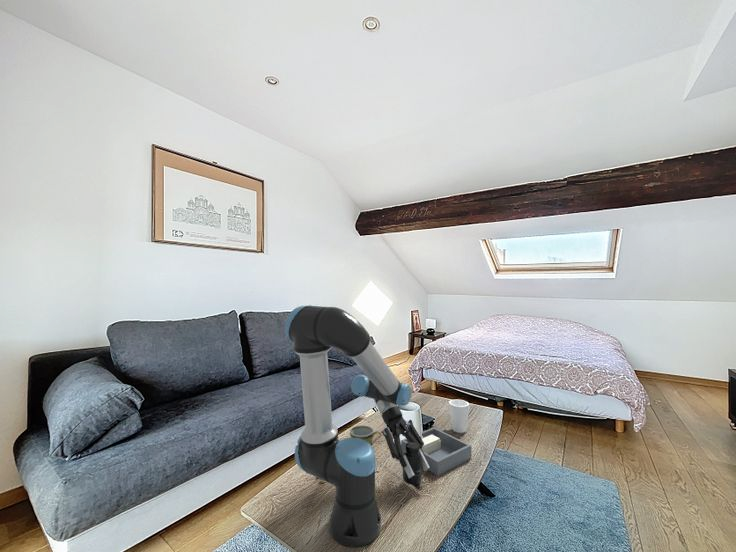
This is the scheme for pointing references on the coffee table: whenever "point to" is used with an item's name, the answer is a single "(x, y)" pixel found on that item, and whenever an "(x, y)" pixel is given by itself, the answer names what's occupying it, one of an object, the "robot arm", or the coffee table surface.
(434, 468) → the tote
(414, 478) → the supplement bottle
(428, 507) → the coffee table surface
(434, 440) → the cream rectangular block
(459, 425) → the foam cup
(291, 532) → the coffee table surface
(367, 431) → the ceramic cup
